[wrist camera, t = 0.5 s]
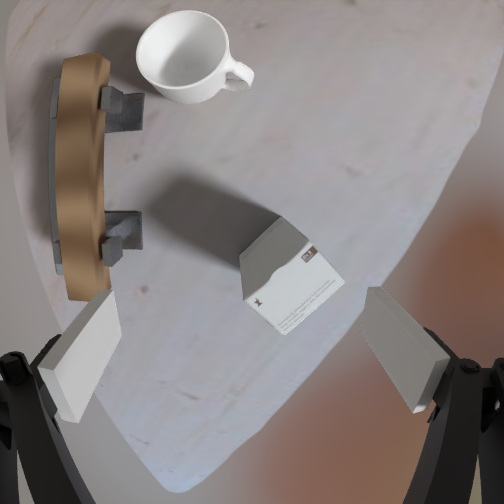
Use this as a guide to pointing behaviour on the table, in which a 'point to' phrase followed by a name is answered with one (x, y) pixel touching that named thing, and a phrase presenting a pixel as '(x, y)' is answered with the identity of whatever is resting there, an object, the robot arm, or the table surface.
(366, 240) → the table surface
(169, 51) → the mug
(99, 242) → the rail
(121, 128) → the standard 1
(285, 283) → the skincare box
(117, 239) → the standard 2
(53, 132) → the mat
